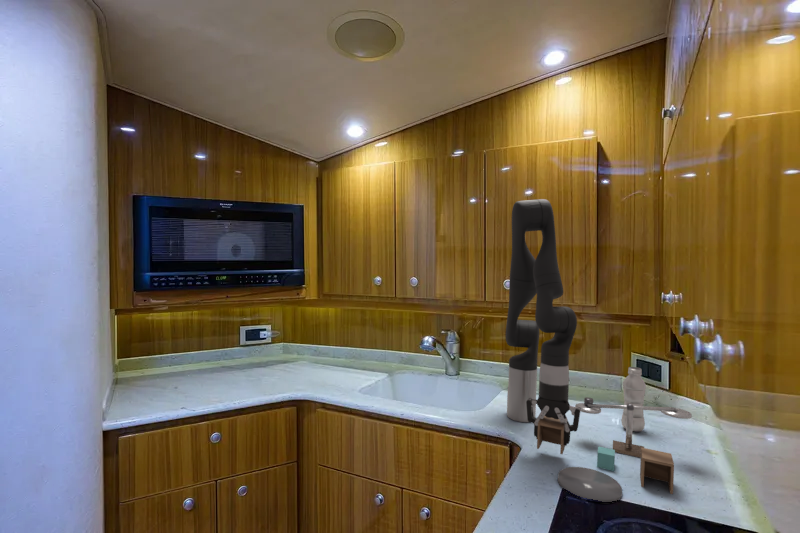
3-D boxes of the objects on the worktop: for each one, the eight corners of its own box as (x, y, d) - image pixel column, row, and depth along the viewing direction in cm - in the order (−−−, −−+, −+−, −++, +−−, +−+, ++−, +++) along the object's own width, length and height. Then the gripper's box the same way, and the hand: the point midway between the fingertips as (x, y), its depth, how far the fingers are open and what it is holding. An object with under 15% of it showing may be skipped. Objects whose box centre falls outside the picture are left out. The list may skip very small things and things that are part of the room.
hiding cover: (541, 439, 117) (542, 415, 117) (565, 445, 114) (566, 419, 114) (536, 448, 111) (537, 422, 111) (562, 454, 108) (563, 427, 108)
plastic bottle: (649, 433, 131) (652, 370, 130) (630, 434, 130) (632, 371, 129) (634, 425, 137) (637, 365, 137) (616, 426, 136) (618, 365, 136)
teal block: (597, 461, 112) (598, 446, 112) (614, 464, 110) (614, 449, 110) (596, 467, 109) (597, 452, 109) (614, 471, 107) (614, 456, 107)
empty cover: (640, 474, 105) (641, 447, 105) (669, 481, 102) (671, 453, 102) (641, 486, 100) (642, 457, 100) (672, 494, 97) (674, 464, 97)
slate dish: (546, 473, 105) (546, 469, 105) (594, 468, 108) (595, 464, 108) (581, 506, 91) (581, 501, 91) (636, 499, 94) (636, 495, 94)
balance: (572, 443, 122) (574, 394, 122) (575, 435, 128) (576, 388, 128) (691, 469, 109) (693, 414, 108) (687, 458, 115) (689, 406, 115)
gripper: (523, 379, 113) (521, 440, 113) (581, 388, 106) (579, 453, 106) (529, 372, 119) (527, 430, 119) (584, 381, 112) (581, 442, 113)
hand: (551, 441), depth 113 cm, fingers closed on hiding cover, 6 cm apart
